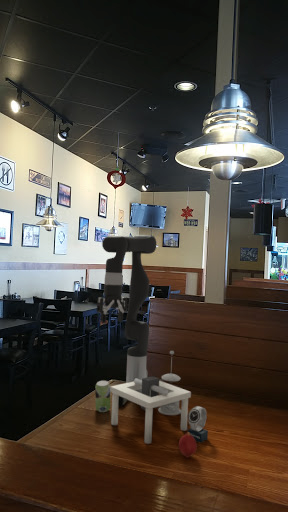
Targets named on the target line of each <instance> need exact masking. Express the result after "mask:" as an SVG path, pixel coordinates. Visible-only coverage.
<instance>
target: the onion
mask: <svg viewBox="0 0 288 512" xmlns="http://www.w3.org/2000/svg"><path fill="white" fill-rule="evenodd" d="M197 443H198V442H196V440H195V439H194V437H193V436H192V435H190V433H189V432H188V431H187V432H186V433H185V434H184V435H183V436H181V437H180V439H179V441H178V450H179V451H180V453H181V454H182V455H183V456H184V457H185V458H190V457H191V456H192V455H194V454H195V453H196V452H197V448H198V444H197Z"/></svg>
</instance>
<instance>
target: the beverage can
mask: <svg viewBox="0 0 288 512" xmlns="http://www.w3.org/2000/svg"><path fill="white" fill-rule="evenodd" d="M110 386H111V385H110V383H109V381H108V380H99V381H97V382H96V384H95V388H94V389H95V390H94V391H95V397H94V398H95V410H96V411H98V412H99V413H106V412H108V411H109V410H111V392H110Z"/></svg>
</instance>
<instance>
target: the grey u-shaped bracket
mask: <svg viewBox="0 0 288 512" xmlns="http://www.w3.org/2000/svg"><path fill="white" fill-rule="evenodd" d="M159 380H160V378H159V377H156V376H147V378H143V379H142V394H144V395H147V396H149V397H154V396H158V395H160V393H158V392H156V391H153V390H151V393H150V386H152V385H156V386H158V387H159ZM140 409H142V410H144V411H146V408H145V407H143V406H141V405H140ZM155 409H159V406H158V407H155Z"/></svg>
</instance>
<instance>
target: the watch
mask: <svg viewBox="0 0 288 512" xmlns="http://www.w3.org/2000/svg"><path fill="white" fill-rule="evenodd" d="M207 417H208V416H207V410H206V408H204V407H202V406H198V405H196V406H194V407H193V408H192V409H191V410H190V411H189V412H188V416H187V421H188V424H189V427H190V428H187V432H189V433H190V435H192V436H193V437H194V439H195V440H196V441H197V442H196V443H199V442H200V444H202V443H203V441H204V442H205V440H206V441H207V440H208V438H209V437H208V436H209V430H207V429H205V428H204V427H205V425H206V421H207Z"/></svg>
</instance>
